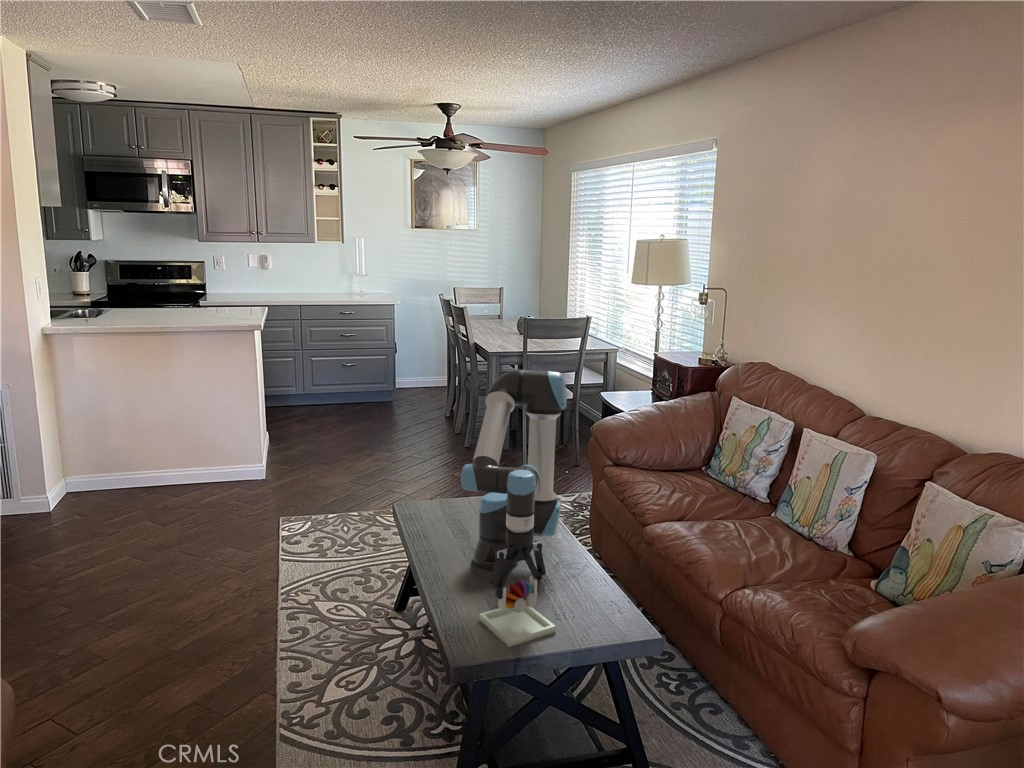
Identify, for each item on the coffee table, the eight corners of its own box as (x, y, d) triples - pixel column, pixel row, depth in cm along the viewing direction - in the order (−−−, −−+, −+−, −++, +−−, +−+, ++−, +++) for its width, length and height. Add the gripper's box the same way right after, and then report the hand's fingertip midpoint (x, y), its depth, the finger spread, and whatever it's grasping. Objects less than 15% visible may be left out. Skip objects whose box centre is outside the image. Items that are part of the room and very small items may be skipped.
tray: (479, 620, 204) (479, 613, 204) (523, 607, 212) (524, 601, 212) (509, 647, 191) (509, 640, 191) (555, 632, 199) (555, 625, 199)
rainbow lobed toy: (494, 606, 200) (495, 581, 198) (519, 594, 207) (519, 571, 205) (516, 617, 194) (517, 592, 193) (541, 605, 201) (541, 581, 199)
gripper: (491, 540, 187) (489, 620, 191) (561, 525, 199) (557, 600, 203) (477, 530, 193) (475, 607, 198) (545, 516, 205) (542, 589, 209)
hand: (517, 604), depth 200 cm, fingers closed on rainbow lobed toy, 9 cm apart
